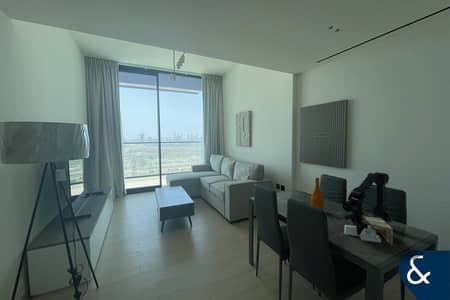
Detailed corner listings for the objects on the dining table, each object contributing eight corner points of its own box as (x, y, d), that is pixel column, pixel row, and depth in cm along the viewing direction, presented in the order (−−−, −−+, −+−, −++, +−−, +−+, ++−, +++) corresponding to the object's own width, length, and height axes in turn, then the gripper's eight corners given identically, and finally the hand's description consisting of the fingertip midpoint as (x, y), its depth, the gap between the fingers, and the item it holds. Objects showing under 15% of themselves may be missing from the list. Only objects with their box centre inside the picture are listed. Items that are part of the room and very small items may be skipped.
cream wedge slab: (364, 230, 132) (365, 216, 132) (380, 232, 129) (380, 218, 129) (374, 242, 117) (374, 226, 116) (392, 245, 114) (393, 228, 114)
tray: (342, 229, 134) (342, 221, 134) (373, 233, 129) (373, 225, 128) (347, 237, 123) (347, 229, 123) (381, 242, 117) (381, 233, 117)
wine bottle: (313, 208, 175) (313, 176, 173) (324, 211, 168) (325, 177, 166) (309, 211, 168) (309, 177, 166) (320, 214, 161) (321, 179, 159)
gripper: (340, 203, 137) (339, 224, 138) (347, 213, 119) (346, 237, 120) (358, 205, 133) (357, 226, 134) (368, 215, 116) (368, 240, 116)
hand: (357, 232), depth 126 cm, fingers open, 6 cm apart
